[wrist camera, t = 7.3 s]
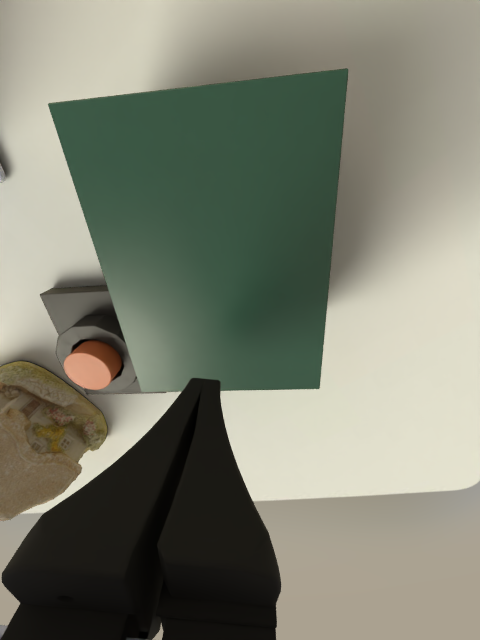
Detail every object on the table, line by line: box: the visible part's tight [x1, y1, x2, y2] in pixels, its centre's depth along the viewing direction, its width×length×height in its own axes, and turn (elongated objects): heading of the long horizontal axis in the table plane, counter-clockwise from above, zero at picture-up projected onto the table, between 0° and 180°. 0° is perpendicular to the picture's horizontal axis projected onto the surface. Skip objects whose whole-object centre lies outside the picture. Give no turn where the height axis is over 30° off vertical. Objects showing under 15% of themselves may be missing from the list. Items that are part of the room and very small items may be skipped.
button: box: [64, 340, 122, 390], centre depth 20 cm, size 4×4×2 cm
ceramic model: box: [0, 361, 107, 521], centre depth 24 cm, size 14×11×10 cm
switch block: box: [40, 285, 166, 394], centre depth 22 cm, size 8×10×3 cm
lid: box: [48, 68, 348, 392], centre depth 13 cm, size 14×11×1 cm
